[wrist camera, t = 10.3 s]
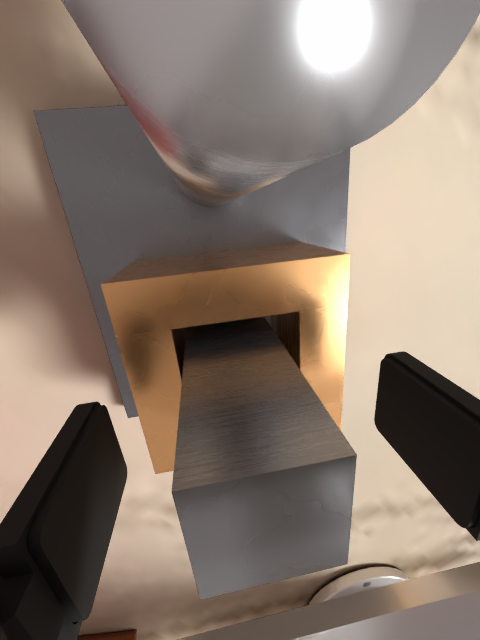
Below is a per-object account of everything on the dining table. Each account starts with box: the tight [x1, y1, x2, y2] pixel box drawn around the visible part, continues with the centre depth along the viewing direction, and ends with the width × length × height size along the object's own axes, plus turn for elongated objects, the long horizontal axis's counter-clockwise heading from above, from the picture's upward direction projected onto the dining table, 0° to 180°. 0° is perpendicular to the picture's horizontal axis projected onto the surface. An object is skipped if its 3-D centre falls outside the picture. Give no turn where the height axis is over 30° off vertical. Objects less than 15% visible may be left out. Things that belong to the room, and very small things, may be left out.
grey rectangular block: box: [172, 316, 357, 600], centre depth 11 cm, size 4×4×11 cm
